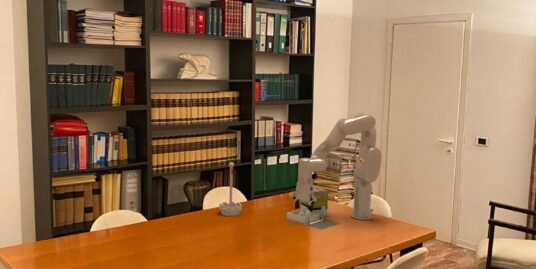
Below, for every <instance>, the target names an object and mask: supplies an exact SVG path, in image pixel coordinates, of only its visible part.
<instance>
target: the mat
mask: <svg viewBox="0 0 536 269" xmlns="http://www.w3.org/2000/svg"><path fill="white" fill-rule="evenodd" d="M284 220H286V221H289V222H292V223H296V224H300V225H303V226H306V227H310V228H314V229H318V230H321V231H323V230H326V229H329V228H331V227H335V226H338V225H341V223H340V222H336V221H333V220H328V219H326V218H325V220H321V217H320V220H316V221H313V222H310V225H305V224H304V223H300V222H297V221H293V220H289V219H287V217H286V218H284Z"/></svg>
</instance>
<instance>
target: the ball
mask: <svg viewBox="0 0 536 269" xmlns="http://www.w3.org/2000/svg"><path fill="white" fill-rule="evenodd" d="M299 216H302V217H305V216H306V210H301V211H300V212H299Z"/></svg>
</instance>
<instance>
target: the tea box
mask: <svg viewBox="0 0 536 269" xmlns="http://www.w3.org/2000/svg"><path fill="white" fill-rule="evenodd" d="M313 189H314V196H315V197H316V198H317V201H316V203H315V204H314V205H313V212H317V213H320V217H321V206H326V214H325V216H328V206H329V204H328V203H329V190H326V189H324V188H322V187H319V186H317V185H313ZM312 201H313V200H312ZM300 204H301V205H300V209H305V210H308V206H309V203H308V202H307V201H302V200H300Z"/></svg>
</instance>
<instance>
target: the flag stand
mask: <svg viewBox="0 0 536 269" xmlns="http://www.w3.org/2000/svg"><path fill="white" fill-rule="evenodd" d="M228 166H229V199H228V200H229V203H227V201H224V202H222V203H219V206H218V207H219V210H220V215H222V216H226V217H235V216H236V217H237V216H240V214H241V210H242V209H243V204H241V202H237V203H235V201H233V180H234V179H233V175H234V171H233V169H234V166H235V163H234V162H233V161H231V162H229V164H228Z"/></svg>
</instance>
